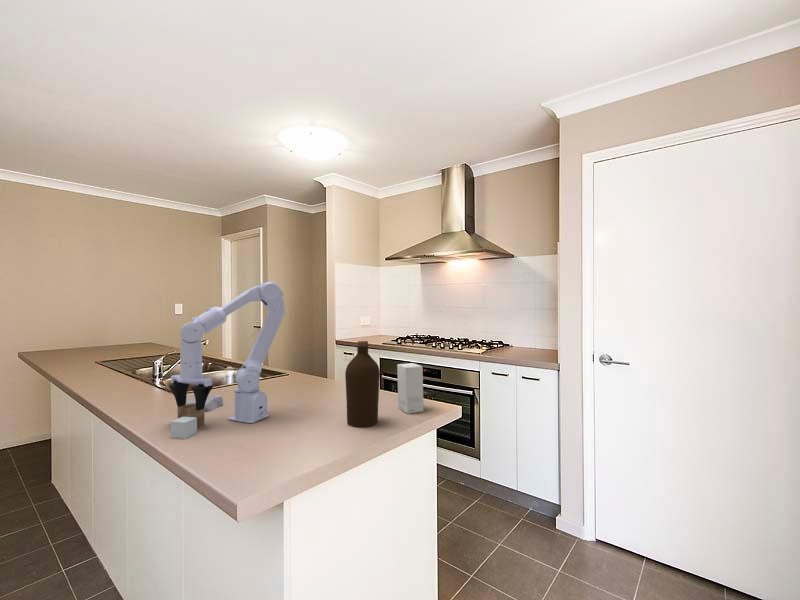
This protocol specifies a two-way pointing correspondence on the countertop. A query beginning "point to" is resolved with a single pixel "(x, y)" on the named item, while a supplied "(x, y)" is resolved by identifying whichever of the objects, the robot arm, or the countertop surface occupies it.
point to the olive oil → (362, 388)
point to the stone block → (208, 402)
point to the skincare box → (410, 388)
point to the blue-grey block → (183, 427)
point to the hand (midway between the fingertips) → (190, 408)
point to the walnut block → (191, 413)
